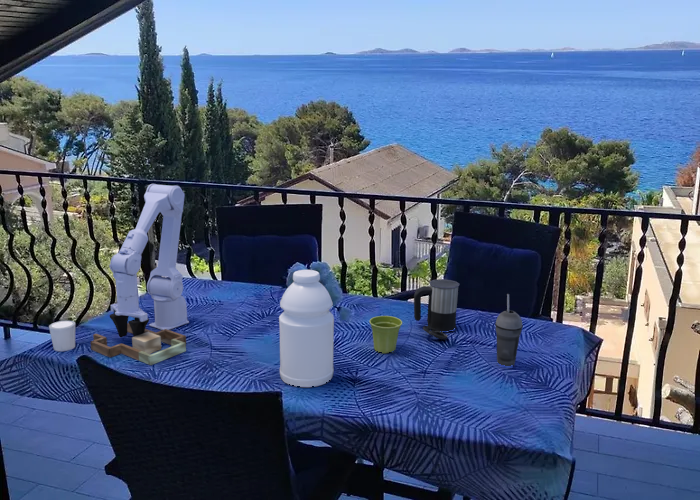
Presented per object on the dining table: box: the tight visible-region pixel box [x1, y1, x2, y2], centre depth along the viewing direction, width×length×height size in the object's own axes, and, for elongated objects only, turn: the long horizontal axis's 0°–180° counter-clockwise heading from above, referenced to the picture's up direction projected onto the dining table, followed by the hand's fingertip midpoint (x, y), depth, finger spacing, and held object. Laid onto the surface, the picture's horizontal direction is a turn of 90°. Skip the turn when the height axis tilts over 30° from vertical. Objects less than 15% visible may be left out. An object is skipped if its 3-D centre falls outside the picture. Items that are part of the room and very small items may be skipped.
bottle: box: [278, 269, 335, 388], centre depth 159 cm, size 14×14×28 cm
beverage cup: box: [494, 293, 524, 366], centre depth 168 cm, size 7×7×20 cm
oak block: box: [131, 332, 162, 354], centre depth 177 cm, size 6×6×4 cm
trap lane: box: [89, 323, 187, 366], centre depth 179 cm, size 19×26×2 cm
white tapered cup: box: [48, 320, 76, 352], centre depth 178 cm, size 7×7×7 cm
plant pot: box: [369, 315, 403, 354], centre depth 179 cm, size 9×9×9 cm
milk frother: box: [413, 278, 460, 340], centre depth 192 cm, size 14×16×15 cm
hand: (130, 339), depth 181 cm, fingers open, 7 cm apart
